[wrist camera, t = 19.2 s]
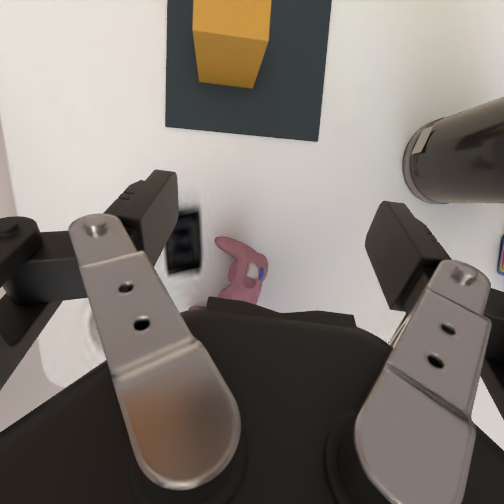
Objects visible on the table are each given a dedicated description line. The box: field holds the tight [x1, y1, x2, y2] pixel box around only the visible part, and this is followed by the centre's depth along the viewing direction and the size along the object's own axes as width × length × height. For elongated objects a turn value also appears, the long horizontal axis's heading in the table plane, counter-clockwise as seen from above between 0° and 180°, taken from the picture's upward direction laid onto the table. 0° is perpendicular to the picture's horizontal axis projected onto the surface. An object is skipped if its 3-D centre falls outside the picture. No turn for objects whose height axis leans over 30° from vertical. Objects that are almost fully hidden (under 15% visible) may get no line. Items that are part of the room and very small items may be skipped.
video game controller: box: [189, 237, 268, 310], centre depth 31 cm, size 10×5×7 cm, turn 159°
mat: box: [165, 0, 332, 142], centre depth 29 cm, size 16×14×1 cm
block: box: [192, 0, 272, 88], centre depth 25 cm, size 5×5×9 cm
